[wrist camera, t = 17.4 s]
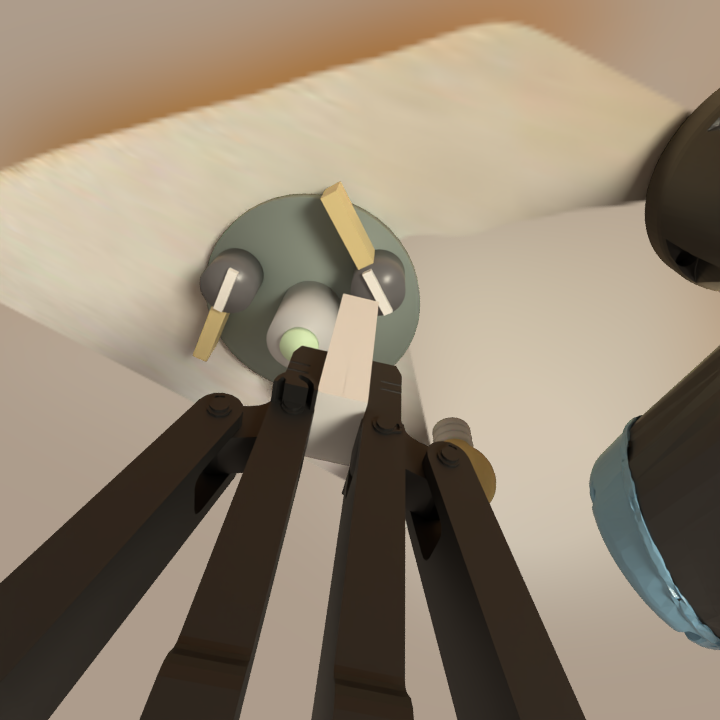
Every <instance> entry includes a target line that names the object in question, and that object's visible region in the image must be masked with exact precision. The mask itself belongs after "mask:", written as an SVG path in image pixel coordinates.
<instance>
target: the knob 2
mask: <svg viewBox="0 0 720 720" xmlns="http://www.w3.org/2000/svg"><path fill="white" fill-rule="evenodd" d="M321 201H322V203H323V205H324V207H325V208H326V210H327V212H328V214H329V216H330V218H331V220H332V222H333V223H334V225H335V227H336V229H337V231H338V233H339V235H340V236H341V238H342V240H343V242H344V244H345V246H346V248H347V250H348V251H349V253H350V255H351V257H352V259H353V261H354V263H355V264H356V265H355V269H354V274H353V279H352V284H351V295H352V296H356V297H360V298H365V299H369V300H373V301H377V302H379V305H378V314H377V316H383V315H384V316H385V315H387V314H390V313H392V312H394V311H395V310H396V309H398V308H399V307H400V305H401V304H402V302H403V300H404V298H405V292H406V288H405V269H404V266H403V263H402V261H401V260H400V259H399V258H398V257H397V256H396V255H395V254H394V253H392V252H390V251H387V250H382V249H377V250H375V249H374V247H373V245H372V243H371V241H370V239H369V237H368V235H367V233H366V231H365V229H364V227H363V225H362V223H361V221H360V219H359V217H358V215H357V213H356V211H355V209H354V207H353V205H352V203H351V201H350V199H349V197H348V195H347V193H346V191H345V189H344V187H343V185H342V183H341V181H340V182H338V183H336V184H334V185H332V186H331V187H329V188H327V189H325V191H324V193H323V195H322V197H321Z"/></svg>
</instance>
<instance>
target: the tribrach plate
mask: <svg viewBox="0 0 720 720" xmlns="http://www.w3.org/2000/svg"><path fill="white" fill-rule="evenodd" d="M321 197H322V195H318V194H292V195H286V196H281V197H277V198H273V199H271V200H268V201H265V202H263V203H260V204H259V205H257V206H255V207H253V208H251V209H249V210H248V211H247V212H245V213H244V214H243V215H242V216H240V217H239V218H238V219H237V220H236V221H235V222H234V223H233V224H232V225H231V226H230V227H229V228H228V229H227V230H226V231H225V232H224V233H223V235H222V236H221V238H220V239H219V241H218V242H217V244H216V246H215V248H214V250H213V252H212V254H211V256H210V260H209V263H208V266H209V265H210V264H211V263H212V262H213V261H214V260H215V259H216V257H217V256H218V255H219V254H220V253H221V252H223V251H224V250H227V249H230V248H239V249H243V250H246V251H248V252H250V253H251V254H253V255H254V256H255V257H256V258H257V259H258V261H259V262H260V264H261V266H262V268H263V272H264V279H263V283H262V285H261V287H260V288H259V290H258V292H257V294H256V295H255V297H254V299H253V300H252V302H251V304H250V305H249V306H248V307H247V308H246V309H245V310H243V311H241V312H238V313H230V314H229V317H228V319H227V322H226V324H225V326H224V329H223V331H222V333H221V336H220V337H221V339H222V340H223V342H224V343H225V344H226V346H227V347H228V348H229V350H230V351H231V352H232V353H233V354H234V355H235V356H236V357H237V358H238V359H239V360H240V361H241V362H242V363H244V364H245V365H246V366H247V367H248V368H250V369H251V370H253V371H254V372H256V373H257V374H259V375H260V376H262V377H264V378H266V379H268V380H270V381H272V382H274V379H275V378H276V377H277V376H278V375H280V374H282V373H284V372H286V370H287V367H288V365H289V362H290V359H291V357H292V354H293V352H294V351H295V350H297V349H298V348H299V347H301V346H306V347H311V348H315V349H319V350H324V351H328V349H329V345H330V342H331V338H332V334H333V330H334V327H335V323H336V319H337V315H338V312H339V308H340V304H341V300H342V297H343V294H348V295H351V284H352V279H353V274H354V269H355V265H356V264H355V263H354V261H353V259H352V257H351V255H350V253H349V251H348V250H347V248H346V246H345V244H344V242H343V240H342V238H341V236H340V235H339V233H338V231H337V229H336V227H335V225H334V223H333V222H332V220H331V218H330V216H329V214H328V212H327V210H326V208H325V207H324V205H323V203H322V201H321ZM352 205H353V207H354V209H355V211H356V213H357V215H358V217H359V219H360V221H361V223H362V225H363V227H364V229H365V231H366V233H367V235H368V237H369V239H370V241H371V243H372V245H373V247H374V249H375V250H377V249H382V250H387V251H390V252H392V253H394V254H395V255H396V256H397V257H398V258H399V259H400V260H401V261H402V263H403V266H404V269H405V288H406V292H405V298H404V300H403V302H402V304H401V305H400V307H399V308H398V309H396V310H395V311H394V312H392V313H390V314H387V315H385V316H384V315H383V316H377V323H376V332H375V341H374V350H373V360H372V361H376V362H380V363H384V364H389V365H393V366H394V365H395V364H396V363H397V362H398V361H399V359H400V358H401V357H402V356H403V355H404V353H405V352H406V350H407V349H408V347H409V345H410V343H411V341H412V339H413V337H414V335H415V331H416V328H417V325H418V320H419V313H420V295H419V287H418V281H417V276H416V273H415V269H414V266H413V264H412V261H411V259H410V257H409V255H408V253H407V251H406V250H405V248H404V247H403V245H402V243H401V242H400V240H399V239H398V238H397V237H396V236H395V235H394V233H393V232H392V231H391V230H390V229H389V228H388V227H387V226H386V225H385V224H384V223H382V222H381V221H380V220H379V219H378V218H376V217H375V216H373V215H372V214H370V213H369V212H367V211H366V210H364V209H362V208H360V207H358V206H356V205H354V204H352ZM207 307H208V310H209V312H210V309H211V307H212V306H211V305H210V304H209V303H208V302H207Z"/></svg>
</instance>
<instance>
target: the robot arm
mask: <svg viewBox="0 0 720 720" xmlns="http://www.w3.org/2000/svg"><path fill="white" fill-rule="evenodd" d="M645 224H646V230H647V234H648V237H649V240H650V243H651V245H652V247H653V249H654V251H655V252H656V254H657V255H658V256H659V258H660V259H661V260H662V261H663V262H664V263H665V264H666V265H668V266H669V267H670V268H672V269H673V270H674V271H676V272H677V273H678V274H679V275H681V276H682V277H684V278H685V279H686V280H689V281H690V282H692V283H694V284H696V285H698V286H701V287H704V288H706V289H710V290H714V291H719V292H720V88H719V89H718V90H717V91H715V92H714V93H713V94H712V95H711V96H710V97H708V98H707V99H706V100H705V101H704V102H703V103H702V104H701V105H700V106H699V107H698V108H697V109H696V110H695V111H694V112H693V113H692V114H691V115H690V116H689V117H688V118H687V119H686V121H685V122H684V123H683V124H682V125H681V127H680V128H679V129H678V131H677V132H676V133H675V135H674V136H673V138H672V139H671V140H670V142H669V143H668V145H667V147H666V148H665V150H664V152H663V153H662V155H661V157H660V159H659V161H658V163H657V166H656V168H655V170H654V173H653V175H652V178H651V181H650V184H649V188H648V192H647V197H646V204H645ZM378 305H379V302H377V301H373V300H369V299H365V298H360V297H356V296H352V295H348V294H343V297H342V300H341V304H340V308H339V312H338V315H337V319H336V323H335V327H334V330H333V334H332V338H331V342H330V345H329V349H328V351H324V350H319V349H315V348H311V347H306V346H301V347H299V348H298V349H297V350H295V351H294V352H293V354H292V357H291V359H290V362H289V365H288V367H287V370H286V372H284V373H282V374H280V375H278V376H277V377H276V378H275V379H274V382H273V390H272V397H271V401H270V402H268V403H266V404H263V405H259V406H243V404H242V403H241V402H240V400H239V399H238V398H236V397H234V396H233V395H229V394H225V393H213V394H209V395H206V396H204V397H203V398H201V399H199V400H198V401H197V402H196V403H195V404H194V405H193V406H192V407H191V408H190V409H189V410H187V411H186V412H185V413H184V414H183V415H182V416H181V417H180V418H179V419H178V420H177V421H176V422H175V423H173V424H172V425H171V426H170V427H169V428H168V429H167V430H166V431H165V432H164V433H163V434H161V436H159V437H158V438H157V439H156V440H155V441H154V442H153V443H152V444H151V445H150V446H148V447H147V448H146V449H145V450H144V451H143V452H142V453H141V454H140V455H139V456H138V457H137V458H136V459H134V460H133V461H132V462H131V463H130V464H129V465H128V466H127V467H126V468H125V469H124V470H122V472H121V473H119V474H118V475H117V476H116V477H115V478H114V479H113V480H112V481H111V482H109V483H108V485H106V486H105V487H104V488H103V489H102V490H101V491H100V492H99V493H98V494H96V495H95V496H94V497H93V498H92V499H91V500H90V501H89V502H88V503H87V504H86V505H85V506H84V507H82V508H81V509H80V510H79V511H78V512H77V513H76V514H75V515H74V516H73V517H72V518H71V519H69V520H68V521H67V522H66V523H65V524H64V525H63V526H62V527H61V528H60V529H59V530H58V531H56V532H55V533H54V534H53V535H52V536H51V537H50V538H49V539H48V540H47V541H46V542H44V544H42V545H41V546H40V547H39V548H38V549H37V550H36V551H35V552H34V553H33V554H32V555H30V556H29V557H28V558H27V559H26V560H25V561H24V562H23V563H22V564H21V565H20V566H18V567H17V568H16V569H15V570H14V571H13V572H12V573H11V574H10V575H9V576H8V577H7V578H6V579H4V580H3V581H2V582H1V583H0V720H48V719H49V718H50V716H51V715H52V714H53V712H54V711H55V710H56V709H57V707H58V706H59V704H60V703H61V702H62V701H63V699H64V698H65V697H66V696H67V694H68V693H69V692H70V690H71V689H72V688H73V686H74V685H75V684H76V682H77V681H78V680H79V679H80V677H81V676H82V675H83V674H84V672H85V671H86V670H87V668H88V667H89V666H90V664H91V663H92V662H93V661H94V659H95V658H96V657H97V655H98V654H99V653H100V651H101V650H102V649H103V648H104V646H105V645H106V644H107V642H108V641H109V640H110V638H111V637H112V636H113V634H114V633H115V632H116V631H117V629H118V628H119V627H120V625H121V624H122V623H123V622H124V620H125V619H126V618H127V616H128V615H129V614H130V613H131V611H132V610H133V609H134V607H135V606H136V605H137V603H138V602H139V601H140V600H141V598H142V597H143V596H144V594H145V593H146V592H147V590H148V589H149V588H150V587H151V585H152V584H153V583H154V581H155V580H156V579H157V577H158V576H159V575H160V574H161V572H162V571H163V570H164V568H165V567H166V566H167V564H168V563H169V562H170V560H171V559H172V558H173V557H174V555H175V554H176V553H177V551H178V550H179V549H180V548H181V546H182V545H183V544H184V542H185V541H186V540H187V538H188V537H189V536H190V535H191V533H192V532H193V531H194V529H195V528H196V527H197V525H198V524H199V523H200V522H201V520H202V519H203V518H204V516H205V515H206V514H207V513H208V511H209V510H210V509H211V507H212V506H213V505H214V503H215V502H216V501H217V500H218V498H219V497H220V495H221V494H222V493H223V492H224V490H225V489H226V488H227V487H228V485H229V484H230V482H231V481H232V480H233V479H234V477H235V475H236V473H243V474H242V477H241V479H240V482H239V485H238V487H237V490H236V492H235V495H234V497H233V500H232V502H231V505H230V508H229V510H228V513H227V515H226V518H225V521H224V523H223V526H222V528H221V531H220V533H219V536H218V538H217V541H216V544H215V546H214V549H213V551H212V554H211V557H210V559H209V561H208V564H207V567H206V569H205V572H204V574H203V577H202V579H201V582H200V584H199V587H198V590H197V592H196V595H195V597H194V600H193V602H192V605H191V608H190V610H189V613H188V615H187V618H186V621H185V623H184V626H183V628H182V631H181V633H180V636H179V638H178V641H177V643H176V644H175V646H174V648H173V649H172V650H171V651H170V652H169V653H168V655H167V656H166V658H165V660H164V662H163V664H162V666H161V668H160V671H159V673H158V675H157V677H156V680H155V682H154V685H153V688H152V690H151V692H150V695H149V697H148V700H147V702H146V705H145V707H144V710H143V712H142V715H141V717H140V720H239V718H240V713H241V709H242V705H243V701H244V697H245V693H246V689H247V685H248V681H249V677H250V673H251V669H252V665H253V661H254V657H255V653H256V649H257V645H258V641H259V637H260V633H261V629H262V625H263V621H264V617H265V613H266V609H267V605H268V601H269V597H270V593H271V589H272V585H273V581H274V577H275V573H276V569H277V565H278V561H279V557H280V553H281V549H282V545H283V541H284V537H285V533H286V529H287V525H288V521H289V517H290V513H291V509H292V505H293V501H294V497H295V493H296V489H297V485H298V481H299V477H300V473H301V469H302V464H303V460H304V456H305V457H310V458H315V459H319V460H324V461H329V462H333V463H338V464H342V465H347V466H349V464H350V468H349V471H348V475H347V478H346V481H345V485H344V489H343V491H342V494H343V495H344V498H343V505H342V513H341V519H340V526H339V533H338V539H337V547H336V554H335V560H334V567H333V574H332V581H331V588H330V595H329V602H328V609H327V615H326V623H325V630H324V636H323V644H322V650H321V657H320V664H319V671H318V678H317V685H316V692H315V698H314V706H313V712H312V719H311V720H414V717H413V706H412V702H411V698H410V697H409V695H408V694H407V692H406V688H405V520H406V524H407V528H408V532H409V535H410V539H411V543H412V547H413V551H414V555H415V558H416V562H417V566H418V570H419V574H420V578H421V581H422V585H423V589H424V593H425V597H426V600H427V604H428V608H429V612H430V616H431V620H432V624H433V627H434V631H435V635H436V639H437V643H438V646H439V650H440V654H441V658H442V662H443V666H444V670H445V674H446V677H447V681H448V685H449V689H450V693H451V696H452V700H453V704H454V708H455V712H456V716H457V720H586V719H585V716H584V714H583V712H582V710H581V707H580V705H579V703H578V701H577V698H576V696H575V694H574V692H573V690H572V687H571V685H570V683H569V681H568V678H567V676H566V674H565V672H564V670H563V667H562V665H561V663H560V660H559V658H558V656H557V654H556V651H555V650H554V647H553V645H552V642H551V640H550V638H549V636H548V633H547V631H546V629H545V627H544V625H543V622H542V620H541V618H540V616H539V613H538V611H537V609H536V607H535V604H534V602H533V600H532V598H531V595H530V593H529V591H528V589H527V586H526V584H525V582H524V580H523V577H522V576H521V573H520V571H519V569H518V566H517V564H516V562H515V560H514V557H513V555H512V553H511V551H510V548H509V546H508V544H507V542H506V539H505V537H504V535H503V533H502V530H501V528H500V526H499V524H498V521H497V519H496V517H495V515H494V512H493V511H492V508H491V506H490V504H489V501H488V499H487V497H486V495H485V492H484V490H483V488H482V486H481V483H480V481H479V479H478V477H477V474H476V472H475V470H474V468H473V465H472V463H471V461H470V459H469V457H468V456H467V454H466V453H465V451H463V450H462V449H461V448H460V447H459V446H457V445H455V444H453V443H451V442H446V441H437V442H434V443H432V444H430V445H429V447H428V446H426V445H424V444H422V443H420V442H418V441H416V440H415V439H413V438H412V437H410V436H409V435H408V434H407V433H406V431H405V428H404V425H403V424H402V422H401V382H402V376H401V374H400V372H399V370H398V369H397V367H396V366H393V365H389V364H384V363H380V362H376V361H372V360H373V350H374V341H375V332H376V323H377V314H378ZM589 487H590V496H591V500H592V502H593V506H592V510H593V514H594V517H595V520H596V523H597V526H598V529H599V531H600V534H601V536H602V538H603V540H604V542H605V544H606V546H607V548H608V550H609V552H610V554H611V556H612V557H613V559H614V561H615V562H616V564H617V565H618V567H619V569H620V570H621V572H622V573H623V575H624V576H625V577H626V579H627V580H628V582H629V583H630V584H631V586H632V587H633V588H634V590H635V591H636V592H637V593H638V594H639V596H640V597H641V598H642V599H643V601H644V602H645V603H646V604H647V605H648V606H649V607H650V608H651V609H652V610H653V611H654V612H655V613H656V614H657V615H658V616H659V617H660V618H661V619H662V620H663V621H664V622H665V623H666V624H668V625H669V626H670V627H671V628H673V629H674V630H676V631H678V632H684V633H685V635H686V636H687V638H688V639H689V640H691V641H692V642H694V643H696V644H698V645H700V646H702V647H705V648H708V649H714V650H720V346H718V348H716V349H715V350H714V351H713V352H712V353H711V354H710V355H709V356H707V358H705V359H704V360H703V361H702V362H701V363H700V364H699V365H698V366H697V367H695V368H694V369H693V370H692V371H691V372H690V373H689V374H688V375H687V376H685V377H684V378H683V379H682V380H681V381H680V382H679V383H678V384H677V385H676V386H674V387H673V388H672V389H671V390H670V391H669V392H668V393H667V394H666V395H664V396H663V397H662V398H661V399H660V400H659V401H658V402H657V403H656V404H655V405H653V406H652V407H651V408H650V409H649V410H648V411H647V412H646V413H645V414H644V415H641V416H638V417H635V418H633V419H632V420H630V421H629V422H628V423H627V425H626V426H625V428H624V430H623V433H622V434H621V435H620V436H619V437H618V438H617V439H616V440H615V441H614V442H613V443H612V444H611V445H610V446H609V447H608V448H607V449H606V450H605V451H604V452H603V453H602V454H601V455H600V457H599V458H598V459H597V460H596V462H595V464H594V466H593V469H592V472H591V476H590V483H589Z"/></svg>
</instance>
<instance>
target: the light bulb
mask: <svg viewBox="0 0 720 720" xmlns="http://www.w3.org/2000/svg"><path fill="white" fill-rule="evenodd" d="M437 441H446V442H451V443H453V444H455V445H457V446H459V447H460V448H461V449H462V450H463V451H465V453H466V454H467V456H468V457H469V459H470V461H471V463H472V465H473V468H474V470H475V472H476V474H477V477H478V479H479V481H480V483H481V486H482V488H483V490H484V492H485V495H486V497H487V499H488V501H489V504H490V502H491V501H492V499H493V497H494V494H495V490H496V477H495V473H494V471H493V468H492V466H491V464H490V462H489V461H488V460H487V458H486V457H485V456H484V455H483V454H482V453H481V452H479V451H478V450H477V449H475V448H473V442H472V437H471V433H470V428H469V426H468V425H467V423H466V422H465V421H463V420H461V419H459V418H453V417H452V418H445V419H443V420H441V421H439V422H438V423H437V424H436V425H435V426H434V428H433V443H434V442H437Z"/></svg>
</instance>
